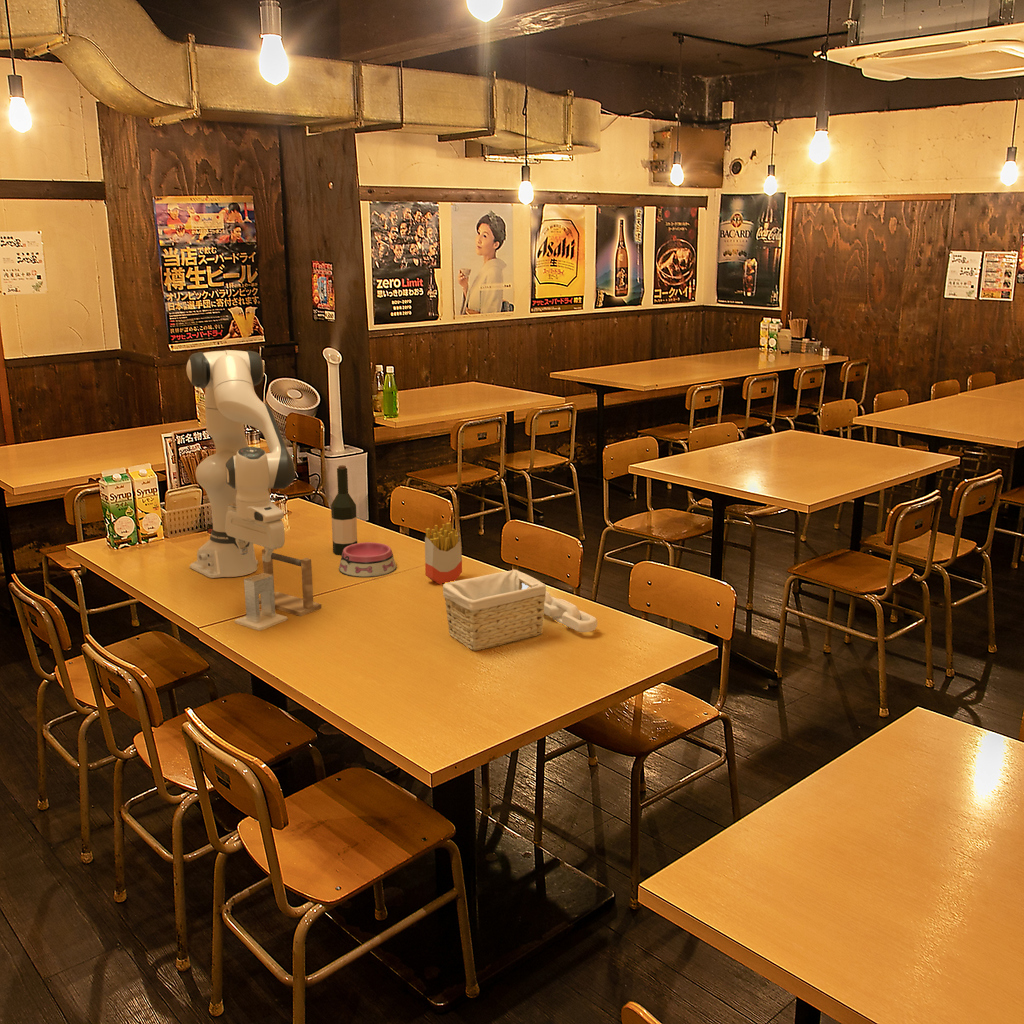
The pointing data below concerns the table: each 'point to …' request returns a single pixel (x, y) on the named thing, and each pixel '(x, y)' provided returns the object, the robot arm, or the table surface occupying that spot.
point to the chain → (568, 614)
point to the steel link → (252, 590)
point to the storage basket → (494, 609)
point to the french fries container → (443, 554)
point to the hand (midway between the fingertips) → (254, 557)
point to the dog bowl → (367, 560)
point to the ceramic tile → (264, 620)
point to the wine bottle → (343, 515)
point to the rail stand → (305, 604)
